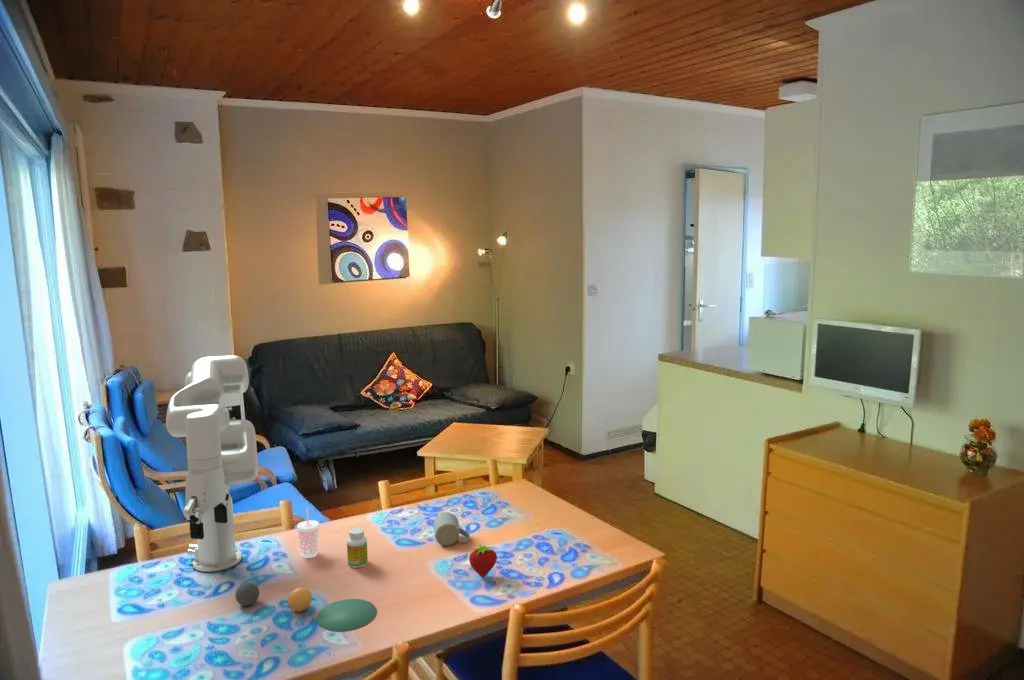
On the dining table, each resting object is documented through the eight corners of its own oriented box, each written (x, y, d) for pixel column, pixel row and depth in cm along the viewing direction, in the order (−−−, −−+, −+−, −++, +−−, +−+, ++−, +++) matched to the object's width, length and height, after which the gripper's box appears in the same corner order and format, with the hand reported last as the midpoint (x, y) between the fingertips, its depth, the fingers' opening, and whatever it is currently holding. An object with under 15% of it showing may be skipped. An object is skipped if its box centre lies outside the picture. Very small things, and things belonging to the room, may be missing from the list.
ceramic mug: (434, 548, 198) (434, 523, 197) (433, 536, 206) (433, 512, 205) (471, 546, 200) (471, 521, 199) (468, 534, 208) (468, 510, 207)
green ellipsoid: (305, 627, 158) (305, 627, 158) (332, 597, 171) (332, 596, 171) (362, 634, 155) (362, 633, 155) (385, 602, 169) (385, 601, 169)
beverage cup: (311, 560, 191) (309, 513, 189) (293, 557, 193) (291, 510, 191) (324, 551, 196) (322, 505, 194) (307, 548, 199) (305, 502, 197)
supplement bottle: (362, 569, 186) (361, 535, 184) (344, 567, 187) (343, 534, 185) (370, 560, 191) (369, 527, 190) (352, 558, 192) (351, 525, 191)
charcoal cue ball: (231, 609, 166) (230, 587, 165) (244, 597, 171) (242, 577, 170) (252, 611, 165) (250, 590, 164) (264, 599, 170) (263, 579, 169)
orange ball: (284, 614, 163) (283, 593, 162) (295, 602, 168) (294, 582, 168) (305, 617, 162) (304, 595, 161) (316, 605, 167) (315, 584, 167)
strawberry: (499, 580, 180) (499, 544, 178) (471, 584, 177) (471, 548, 176) (494, 570, 185) (493, 535, 184) (467, 573, 183) (466, 538, 182)
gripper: (212, 451, 174) (216, 515, 176) (167, 473, 157) (172, 544, 159) (239, 452, 172) (243, 517, 175) (196, 475, 156) (201, 546, 158)
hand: (209, 530), depth 167 cm, fingers open, 9 cm apart
